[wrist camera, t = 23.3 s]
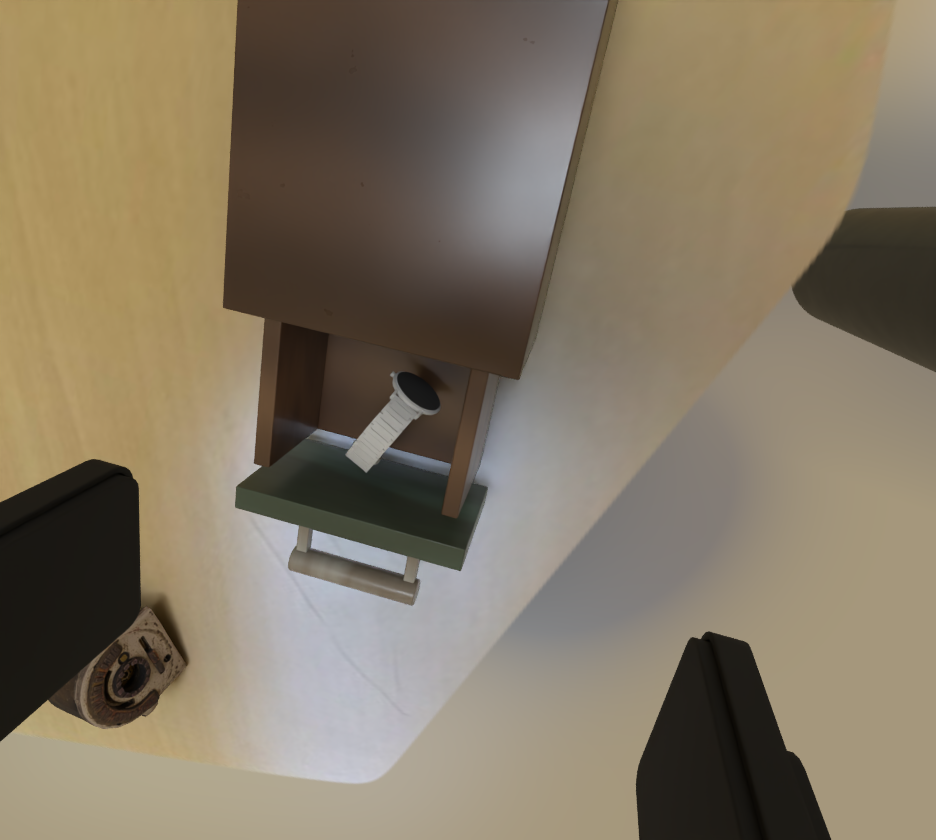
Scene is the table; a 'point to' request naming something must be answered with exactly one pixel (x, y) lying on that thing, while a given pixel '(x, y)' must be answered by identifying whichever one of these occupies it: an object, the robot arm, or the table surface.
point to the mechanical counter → (123, 676)
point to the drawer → (385, 484)
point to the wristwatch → (394, 418)
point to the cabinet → (408, 167)
